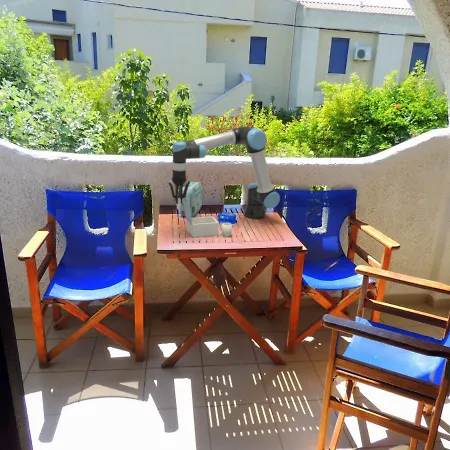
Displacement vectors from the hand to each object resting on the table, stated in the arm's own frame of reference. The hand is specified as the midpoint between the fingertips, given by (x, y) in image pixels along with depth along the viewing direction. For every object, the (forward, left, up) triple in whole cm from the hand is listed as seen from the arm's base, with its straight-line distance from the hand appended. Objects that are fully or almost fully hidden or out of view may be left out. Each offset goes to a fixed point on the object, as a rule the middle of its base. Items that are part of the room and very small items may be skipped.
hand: (178, 208), depth 247 cm
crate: (-15, 0, -16) cm, 22 cm away
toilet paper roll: (-28, +7, -16) cm, 33 cm away
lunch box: (-18, -38, -17) cm, 45 cm away
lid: (-6, 0, 0) cm, 6 cm away
